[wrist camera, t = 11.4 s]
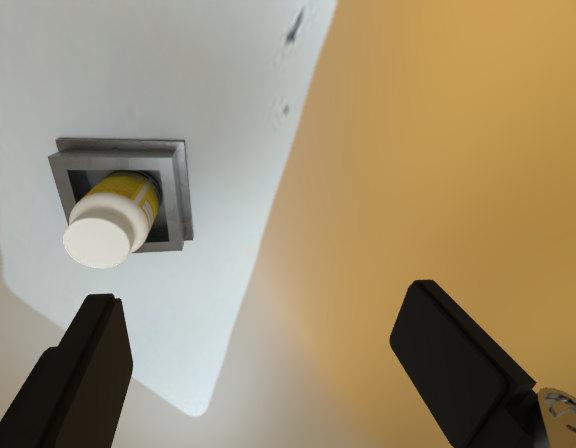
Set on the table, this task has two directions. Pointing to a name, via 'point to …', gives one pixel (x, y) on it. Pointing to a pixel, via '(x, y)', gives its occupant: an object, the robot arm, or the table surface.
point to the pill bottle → (112, 219)
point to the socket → (129, 156)
